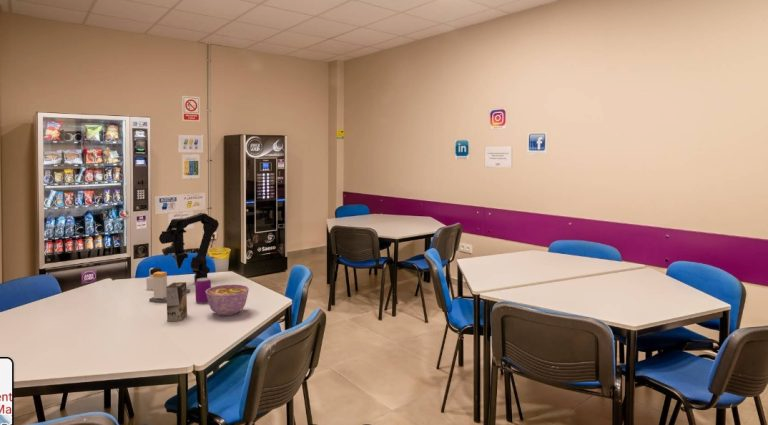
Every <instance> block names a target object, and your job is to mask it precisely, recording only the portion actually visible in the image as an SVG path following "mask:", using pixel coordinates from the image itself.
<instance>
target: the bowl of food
mask: <svg viewBox="0 0 768 425" xmlns="http://www.w3.org/2000/svg"><path fill="white" fill-rule="evenodd" d="M249 291H250V288H249V287H248V286H247V285H243V284H221V285H215V286H211V288H209V289H207V290H206V291H205V292H206V295H207V299H208V305H209V308H210V310H211V311H212V312H214V313H216V314H219V315H220V316H223V317H225V316H226V317H227V316H232V315H235V314H237V313H238V312H240V311H242V310H243V309H244V307H245V306H246V303H247V300H248V299H247V298H248V295H249Z"/></svg>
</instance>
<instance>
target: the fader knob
mask: <svg viewBox="0 0 768 425" xmlns="http://www.w3.org/2000/svg"><path fill="white" fill-rule="evenodd" d="M167 277H168V273H167V271H161V272H155V273H153V284H154V290H153V297H154V298H162V299H163V298H165V297H167V296H166V287H167V286H168V278H167Z"/></svg>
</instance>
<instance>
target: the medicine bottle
mask: <svg viewBox="0 0 768 425" xmlns="http://www.w3.org/2000/svg"><path fill="white" fill-rule="evenodd" d="M148 271H149V276H147V277H146V278H145V281H146V290H147V291H154V284H153V273H155V272H162V268H161V267H157V266H156V267H151V268H150V269H149V270H148Z"/></svg>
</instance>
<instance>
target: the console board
mask: <svg viewBox="0 0 768 425" xmlns="http://www.w3.org/2000/svg"><path fill="white" fill-rule="evenodd" d="M186 291H187V294H189V293H190V292H191V289H189V288H186ZM148 299H149V300H148V302H149V303H160V304H167V297H165V298H163V299H162V298H154V296H153V297H151V298H148Z"/></svg>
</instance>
